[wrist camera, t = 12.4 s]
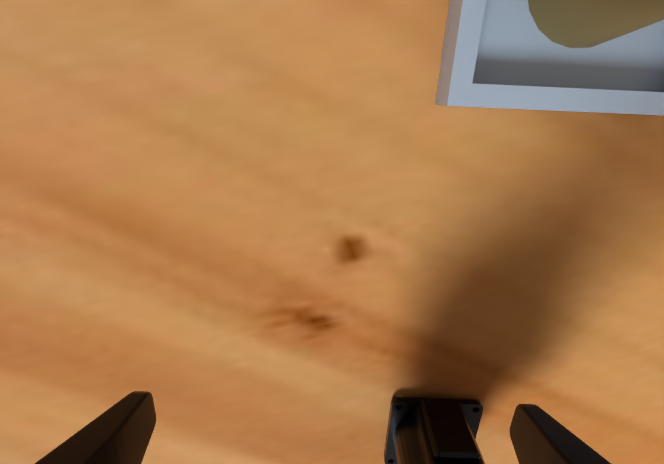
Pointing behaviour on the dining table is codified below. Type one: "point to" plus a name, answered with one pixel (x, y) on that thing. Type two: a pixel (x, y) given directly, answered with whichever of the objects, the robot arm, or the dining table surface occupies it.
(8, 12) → the dining table surface
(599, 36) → the olive knobbed post
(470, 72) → the tray
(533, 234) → the dining table surface
